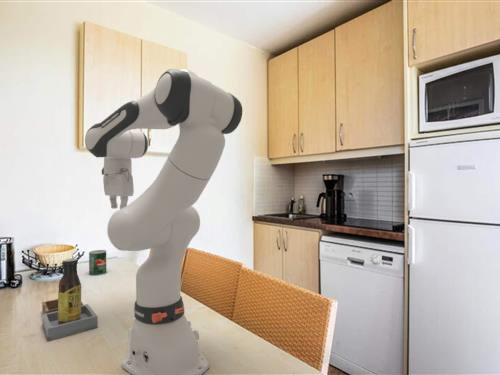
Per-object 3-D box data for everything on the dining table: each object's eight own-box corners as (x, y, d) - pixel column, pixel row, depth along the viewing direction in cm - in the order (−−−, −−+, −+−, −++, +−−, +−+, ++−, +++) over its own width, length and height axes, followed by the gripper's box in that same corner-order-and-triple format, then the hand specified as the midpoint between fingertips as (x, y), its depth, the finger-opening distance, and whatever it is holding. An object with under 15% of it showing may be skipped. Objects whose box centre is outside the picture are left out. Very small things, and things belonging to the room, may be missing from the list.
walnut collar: (82, 313, 107) (82, 303, 106) (46, 322, 100) (46, 311, 100) (76, 304, 115) (76, 295, 115) (42, 312, 108) (42, 302, 108)
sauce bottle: (70, 329, 93) (69, 263, 93) (52, 327, 94) (52, 262, 94) (86, 319, 99) (85, 257, 99) (69, 318, 100) (68, 257, 100)
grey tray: (97, 327, 96) (97, 316, 96) (47, 341, 88) (47, 328, 88) (87, 314, 106) (87, 304, 106) (42, 325, 98) (42, 314, 98)
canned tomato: (101, 275, 152) (101, 253, 152) (85, 275, 152) (85, 253, 152) (109, 271, 160) (109, 249, 160) (94, 271, 160) (94, 249, 160)
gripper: (138, 168, 101) (139, 210, 102) (117, 170, 117) (118, 207, 117) (118, 167, 97) (119, 211, 97) (100, 170, 113) (100, 208, 113)
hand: (118, 209), depth 107 cm, fingers open, 8 cm apart
